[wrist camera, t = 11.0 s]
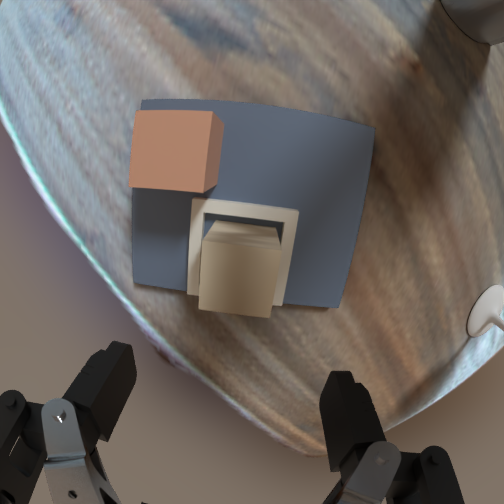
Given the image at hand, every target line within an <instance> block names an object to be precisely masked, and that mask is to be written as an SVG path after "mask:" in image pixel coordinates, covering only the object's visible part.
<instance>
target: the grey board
mask: <svg viewBox="0 0 504 504" xmlns="http://www.w3.org/2000/svg"><path fill="white" fill-rule="evenodd" d="M141 110H195V111H213V112H214V113H215V114H216V115H217V117H218V118H219V119H220V120H221V121H222V122H223V123H224V132H223V139H222V147H221V156H220V164H219V173H218V182H217V185H215V186H213V187H212V188H210V189H209V190H207V191H205V192H204V193H199V192H189V191H177V190H165V189H152V188H137V187H133V198H132V261H133V282H134V283H139V284H145V285H151V286H157V287H163V288H169V289H176V290H182V291H187V294H189V295H196V296H199V288H200V270H201V253H202V241H203V239H204V237H205V236H206V234H207V233H208V231H209V230H210V228H211V227H212V225H213V224H214V222H215V221H216V220H220V221H229V222H237V223H245V224H253V225H261V226H269V227H276V230H277V234H278V238H279V241H280V245H281V249H282V253H281V259H280V265H279V271H278V276H277V282H276V288H275V293H274V299H273V304H272V305H276V306H282V303H286V304H296V305H306V306H318V307H330V308H339V305H340V301H341V298H342V294H343V291H344V287H345V283H346V280H347V276H348V272H349V268H350V265H351V261H352V256H353V252H354V248H355V244H356V240H357V235H358V231H359V226H360V221H361V216H362V211H363V206H364V201H365V196H366V190H367V184H368V178H369V172H370V166H371V159H372V152H373V144H374V136H375V128H374V127H370V126H367V125H363V124H359V123H356V122H352V121H348V120H344V119H340V118H335V117H331V116H326V115H322V114H317V113H312V112H307V111H301V110H296V109H290V108H283V107H277V106H270V105H262V104H253V103H244V102H233V101H219V100H199V99H151V100H142V103H141Z"/></svg>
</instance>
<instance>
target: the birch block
mask: <svg viewBox="0 0 504 504" xmlns="http://www.w3.org/2000/svg"><path fill="white" fill-rule="evenodd" d="M281 253H282V249H281V245H280V241H279V238H278V234H277V230H276V227H269V226H261V225H253V224H245V223H237V222H229V221H220V220H216V221H215V222H214V224H213V225H212V227H211V228H210V230H209V231H208V233H207V234H206V236H205V237H204V239H203V241H202V253H201V270H200V288H199V309H200V310H207V311H214V312H222V313H229V314H237V315H246V316H254V317H264V318H270V315H271V310H272V304H273V299H274V293H275V288H276V282H277V276H278V271H279V265H280V259H281Z"/></svg>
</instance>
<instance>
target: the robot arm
mask: <svg viewBox="0 0 504 504" xmlns="http://www.w3.org/2000/svg"><path fill="white" fill-rule="evenodd" d="M441 3H442V5H443V7H444V8H445V10H446V12H447V13H448V15H449V16H450V17H451V19H452V20H453V21H454V22H455V23H456V25H457V26H458V27H459V28H460V29H461V30H462V31H463V32H464V33H466V34H467V35H468V36H469V37H471V38H472V39H473V40H475V41H477V42H481V43H489V44H490V45H491V46H492V45H495V44H498V43H502V42H504V0H441ZM136 377H137V371H136V365H135V360H134V355H133V350H132V346H131V345H129V344H125V343H121V342H117V341H112V343H111V344H110V345H109V347H108V348H107V349H106V351H105V350H99V351H98V352H96V353H95V354H93V355H92V356H91V357H90V358H89V360H88V361H87V363H86V365H85V366H84V367H83V368H82V370H81V372H80V373H79V374H78V375H77V377H76V378H75V380H74V381H73V383H72V384H71V385H70V387H69V388H68V390H67V391H66V393H65V394H64V396H63V397H62V398H55V399H52V400H50V401H48V402H47V403H46V404H38V403H33V402H27V401H26V399H25V398H24V396H23V395H22V394H21V393H20V392H19V391H16V390H8V391H6V392H4V393H3V394H2V395H1V396H0V504H28V503H29V501H30V498H31V496H32V493H33V490H34V488H35V485H36V482H37V480H38V478H39V475H40V473H41V470H42V468H43V466H44V469H45V474H46V478H47V483H48V486H49V490H50V494H51V497H52V500H53V503H54V504H121V502H120V500H119V498H118V496H117V494H116V492H115V491H114V489H113V488H112V486H111V484H110V482H109V479H108V477H107V474H106V472H105V469H104V467H103V464H102V462H101V458H100V456H99V453H98V450H97V447H96V444H97V441H98V439H100V440H103V441H106V442H108V441H109V438H110V436H111V434H112V432H113V429H114V427H115V425H116V423H117V421H118V418H119V416H120V414H121V412H122V410H123V408H124V406H125V403H126V401H127V399H128V397H129V395H130V393H131V391H132V389H133V387H134V385H135V382H136ZM319 408H320V413H321V419H322V424H323V430H324V435H325V441H326V447H327V452H328V458H329V464H330V470H331V472H339V471H340V472H341V478H340V479H339V481H338V482H337V484H336V485H335V487H334V488H333V489H332V491H331V492H330V494H329V495H328V496H327V498H326V499H325V500H324V502H323V503H322V504H381V503H382V501H383V499H384V497H386V501H387V504H465V503H464V500H463V496H462V493H461V490H460V487H459V484H458V481H457V478H456V475H455V472H454V469H453V466H452V463H451V461H450V458H449V456H448V453H447V452H446V451H445V450H444V449H443V448H441V447H439V446H429V447H427V448H426V449H424V450H423V451H422V452H421V453H408V452H401V451H399V449H398V448H397V447H396V446H395V445H394V444H392V443H390V442H387V441H386V438H385V435H384V433H383V430H382V427H381V424H380V421H379V418H378V416H377V413H376V411H375V407H374V405H373V403H372V399H371V397H370V394H369V391H368V390H367V389H366V388H365V387H364V386H363V385H362V384H361V383H355V381H354V378H353V376H352V373H351V372H350V371H331V372H330V374H329V377H328V379H327V382H326V384H325V386H324V389H323V391H322V393H321V396H320V402H319ZM18 437H19V439H18V441H17V443H16V445H15V446H14V444H15V442H16V440H17V438H18ZM13 446H14V448H13ZM12 448H13V450H12ZM11 450H12V452H11ZM10 452H11V454H10ZM9 455H10V456H9ZM47 457H48V460H46V459H47ZM141 504H146V503H143V502H142V503H141Z"/></svg>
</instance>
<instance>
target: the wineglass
mask: <svg viewBox="0 0 504 504" xmlns="http://www.w3.org/2000/svg"><path fill="white" fill-rule="evenodd" d="M503 306H504V289H503V287H502V286H501V285H493V286H491V287H489V288H488V289H487V290H486V291H485V292H484V293H483V294H482V295H481V296H480V297H479V299H478V300H477V302H476V303H475V305H474V307H473V309H472V311H471V313H470V316H469V319H468V325H467V329H468V333H469V335H470V336H472V337H478V336H481V335H483V334H484V333H486V332H487V331H488V330H489V329H490V328H491V327H492V326H493V325H494V324H495V325H497V326H498V327H499V328H500V329H502V330H503V331H504V321H503V320H502V319H501V318H500V317H499V316H500V314H501V311H502V309H503Z"/></svg>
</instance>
